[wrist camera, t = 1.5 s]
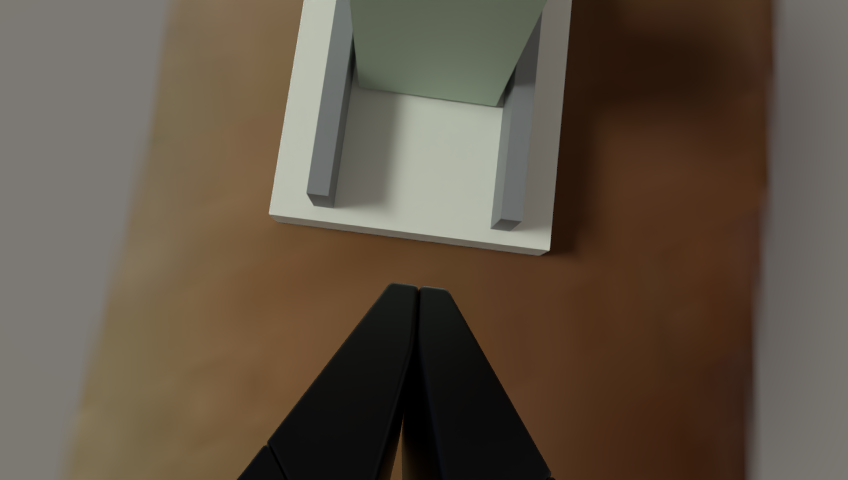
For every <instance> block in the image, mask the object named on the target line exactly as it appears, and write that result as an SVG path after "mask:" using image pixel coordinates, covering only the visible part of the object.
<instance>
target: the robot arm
mask: <svg viewBox="0 0 848 480" xmlns="http://www.w3.org/2000/svg"><path fill="white" fill-rule="evenodd" d="M402 420H403V424H402ZM401 426H402V480H555V478H553V477H550V476H551V471H550V470H549V468H548V466H547V464H546V463H545V461H544V459H543V457H542V456H541V454H540V452H539V450H538V448H537V447H536V445H535V443H534V441H533V440H532V438H531V436H530V434H529V433H528V431H527V429H526V427H525V425H524V424H523V422H522V420H521V418H520V417H519V415H518V413H517V411H516V409H515V408H514V406H513V404H512V402H511V401H510V399H509V397H508V395H507V394H506V392H505V390H504V388H503V386H502V385H501V383H500V381H499V379H498V378H497V376H496V374H495V372H494V371H493V369H492V367H491V365H490V363H489V362H488V360H487V358H486V356H485V355H484V353H483V351H482V349H481V348H480V346H479V344H478V342H477V340H476V339H475V337H474V335H473V333H472V332H471V330H470V328H469V326H468V325H467V323H466V321H465V319H464V317H463V316H462V314H461V312H460V310H459V309H458V307H457V305H456V303H455V302H454V300H453V298H452V296H451V294H450V293H449V291H447V290H446V289H442V288H434V287H426V286H423V287H421V288H420V289H419V292H418V288H417V286H415V285H410V284H402V283H390V284H389V285H388V286H387V287H386V289H385V290H384V291H383V293H382V294H381V295H380V296H379V298H378V299H377V300H376V302H375V303H374V304H373V305H372V307H371V308H370V309H369V311H368V312H367V313H366V314H365V316H364V317H363V318H362V320H361V321H360V322H359V323H358V325H357V326H356V327H355V329H354V330H353V331H352V333H351V334H350V335H349V336H348V338H347V339H346V340H345V342H344V343H343V344H342V345H341V347H340V348H339V349H338V351H337V352H336V353H335V354H334V356H333V357H332V358H331V360H330V361H329V362H328V364H327V365H326V366H325V367H324V369H323V370H322V371H321V373H320V374H319V375H318V376H317V378H316V379H315V380H314V382H313V383H312V384H311V385H310V387H309V388H308V389H307V391H306V392H305V393H304V395H303V396H302V397H301V398H300V400H299V401H298V402H297V404H296V405H295V406H294V407H293V409H292V410H291V411H290V413H289V414H288V415H287V416H286V418H285V419H284V420H283V422H282V423H281V424H280V426H279V427H278V428H277V429H276V431H275V432H274V433H273V435H272V436H271V437H270V438H269V440H268V441H267V445H265V446H263V447H262V448H261V450H260V451H259V452H258V453H257V455H256V456H255V457H254V459H253V460H252V461H251V462H250V464H249V465H248V466H247V468H246V469H245V470H244V471H243V473H242V474H241V475H240V476H239V477H238V479H237V480H390V478H391V473H392V469H393V465H394V460H395V456H396V452H397V447H398V442H399V437H400V432H401Z"/></svg>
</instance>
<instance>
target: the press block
mask: <svg viewBox="0 0 848 480" xmlns="http://www.w3.org/2000/svg"><path fill="white" fill-rule="evenodd" d="M349 1H350V10H351V19H352V28H353V37H354V45H355V54H356V63H357V72H358V81H359V87H360V88H368V89H375V90H382V91H389V92H396V93H404V94H411V95H418V96H425V97H432V98H439V99H447V100H454V101H461V102H468V103H475V104H483V105H490V106H496V105H497V103H498V101H499V99H500V97H501V95H502V92H503V90H504V88H505V86H506V84H507V82H508V80H509V78H510V76H511V74H512V72H513V70H514V68H515V66H516V64H517V62H518V60H519V57H520V55H521V53H522V51H523V49H524V47H525V45H526V43H527V41H528V39H529V37H530V35H531V33H532V31H533V29H534V27H535V25H536V23H537V20H538V18H539V16H540V14H541V12H542V10H543V8H544V6H545V4H546V2H547V0H349Z"/></svg>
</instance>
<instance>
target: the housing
mask: <svg viewBox="0 0 848 480" xmlns="http://www.w3.org/2000/svg"><path fill="white" fill-rule="evenodd" d="M571 5H572V0H547V2H546V4H545V6H544V8H543V10H542V12H541V14H540V16H539V18H538V20H537V23H536V25H535V27H534V29H533V31H532V33H531V35H530V37H529V39H528V41H527V43H526V45H525V47H524V49H523V51H522V53H521V55H520V57H519V60H518V62H517V64H516V66H515V68H514V70H513V72H512V74H511V76H510V78H509V80H508V82H507V84H506V86H505V88H504V90H503V92H502V95H501V97H500V99H499V101H498V103H497V105H496V106H490V105H483V104H475V103H468V102H461V101H454V100H447V99H439V98H432V97H425V96H418V95H411V94H404V93H396V92H389V91H382V90H375V89H368V88H360V87H359V81H358V72H357V63H356V54H355V45H354V37H353V28H352V19H351V10H350V1H349V0H304V3H303V9H302V15H301V21H300V27H299V34H298V40H297V46H296V52H295V58H294V64H293V70H292V76H291V82H290V88H289V94H288V101H287V107H286V113H285V119H284V125H283V131H282V137H281V143H280V149H279V155H278V161H277V168H276V174H275V180H274V186H273V192H272V198H271V204H270V210H269V215H270V216H271V217H272V218H273V219H274V220H275V221H276V222H281V223H289V224H297V225H304V226H312V227H320V228H328V229H335V230H343V231H351V232H359V233H366V234H374V235H382V236H390V237H397V238H405V239H413V240H421V241H428V242H436V243H444V244H452V245H459V246H467V247H475V248H483V249H490V250H498V251H506V252H514V253H521V254H529V255H537V256H540V255H542V254H544V253H546V252H548V251H550V241H551V230H552V218H553V207H554V196H555V185H556V174H557V162H558V151H559V140H560V129H561V117H562V106H563V95H564V84H565V72H566V61H567V50H568V39H569V28H570V16H571Z"/></svg>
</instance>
